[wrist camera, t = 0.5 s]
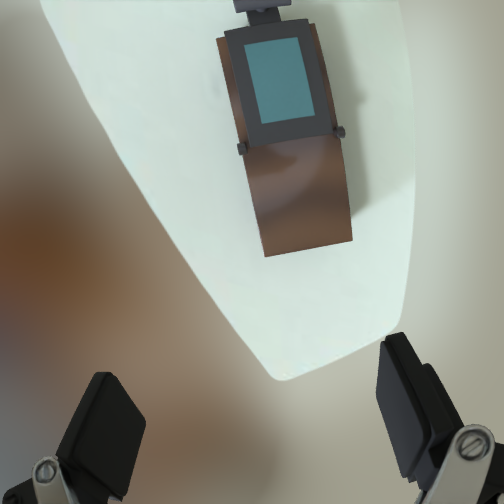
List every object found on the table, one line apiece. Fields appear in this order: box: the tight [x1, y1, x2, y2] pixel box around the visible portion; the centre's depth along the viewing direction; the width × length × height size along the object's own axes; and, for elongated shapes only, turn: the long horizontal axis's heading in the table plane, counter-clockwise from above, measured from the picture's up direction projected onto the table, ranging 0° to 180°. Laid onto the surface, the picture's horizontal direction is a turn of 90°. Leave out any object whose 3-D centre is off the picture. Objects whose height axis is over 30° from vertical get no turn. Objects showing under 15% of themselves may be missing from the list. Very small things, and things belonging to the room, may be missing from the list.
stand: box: [216, 23, 353, 257], centre depth 30 cm, size 24×10×7 cm, turn 12°
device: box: [224, 0, 334, 147], centre depth 24 cm, size 16×8×4 cm, turn 12°
